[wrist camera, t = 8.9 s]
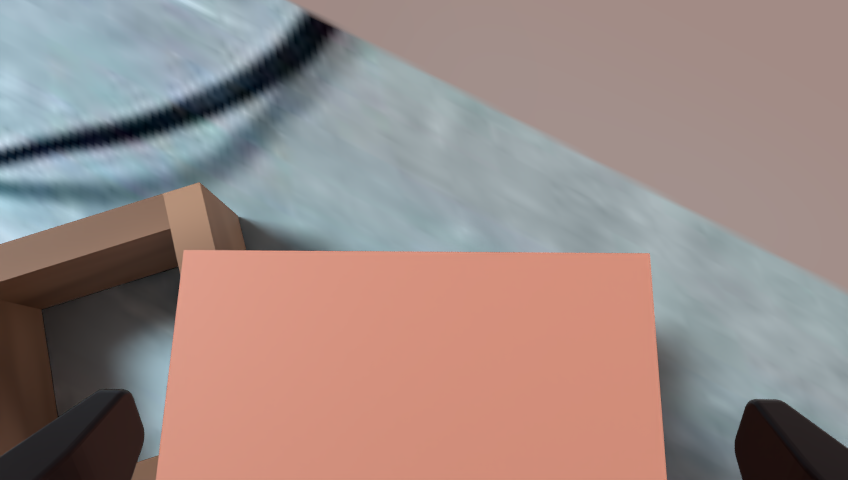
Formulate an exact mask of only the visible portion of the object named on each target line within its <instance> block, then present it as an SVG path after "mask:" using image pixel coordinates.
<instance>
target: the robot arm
mask: <svg viewBox="0 0 848 480" xmlns="http://www.w3.org/2000/svg"><path fill="white" fill-rule="evenodd" d="M143 442H144V428H143V424H142V421H141V419H140V416H139V413H138V410H137V407H136V404H135V401H134V398H133V396H132V394H131V393H130V392H129V391H128V390H124V389H103V390H99V391H97V392H95V393H94V394H92V395H91V396H89V397H88V398H86V399H85V400H83V401H82V402H80V403H79V404H77V405H76V406H74V407H73V408H71V409H70V410H68V411H67V412H65V413H64V414H62V415H61V416H60V417H58V418H57V419H55V420H54V421H52V422H51V423H49V424H48V425H46V426H45V427H43V428H42V429H40V430H39V431H37V432H36V433H34V434H33V435H31V436H30V437H28V438H27V439H25V440H24V441H22V442H21V443H19V444H18V445H16V446H15V447H13V448H12V449H11V450H9V451H8V452H6V453H5V454H3V455H2V456H0V480H131V479H132V476H133V473H134V470H135V467H136V464H137V461H138V458H139V455H140V452H141V449H142V446H143ZM735 455H736V459H737V462H738V466H739V469H740V473H741V476H742V479H743V480H848V448H847V447H845V446H844V445H842V444H841V443H840V442H838V441H837V440H836V439H834V438H833V437H832V436H830V435H829V434H827V433H826V432H825V431H823V430H822V429H821V428H819V427H818V426H816V425H815V424H814V423H812V422H811V421H810V420H808V419H807V418H805V417H804V416H803V415H801V414H800V413H799V412H797V411H796V410H795V409H793V408H792V407H790V406H789V405H788V404H786V403H785V402H783V401H781V400H776V399H753V400H750V401H749V402H748V403H747V405H746V407H745V410H744V413H743V416H742V419H741V422H740V425H739V429H738V432H737V435H736V438H735Z"/></svg>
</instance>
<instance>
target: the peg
mask: <svg viewBox="0 0 848 480" xmlns="http://www.w3.org/2000/svg"><path fill="white" fill-rule="evenodd" d="M156 480H667V474H666V461H665V448H664V435H663V422H662V409H661V396H660V383H659V369H658V356H657V343H656V330H655V317H654V304H653V291H652V278H651V264H650V253H522V252H387V251H252V250H184V252H183V260H182V268H181V277H180V285H179V293H178V301H177V310H176V318H175V326H174V334H173V343H172V351H171V359H170V367H169V375H168V384H167V392H166V400H165V408H164V417H163V425H162V433H161V441H160V449H159V458H158V466H157V474H156Z"/></svg>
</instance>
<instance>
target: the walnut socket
mask: <svg viewBox="0 0 848 480" xmlns="http://www.w3.org/2000/svg"><path fill="white" fill-rule="evenodd" d="M184 250H246V247H245V243H244V239H243V235H242V231H241V227H240V223H239V219H238V216H237V215H236V214H235V213H234V212H233V211H232V210H231V209H229V208H228V207H227V206H226V205H225V204H224V203H223V202H221V201H220V200H219V199H218V198H217V197H216V196H215V195H213V194H212V193H211V192H210V191H209V190H208V189H207V188H205V187H204V186H203V185H202V184H201V183H200V182H199V183H196V184H193V185H189V186H186V187H183V188H180V189H177V190H173V191H170V192H167V193H164V194H160V195H157V196H154V197H151V198H148V199H144V200H141V201H138V202H135V203H131V204H128V205H125V206H122V207H119V208H115V209H112V210H109V211H106V212H102V213H99V214H96V215H93V216H90V217H86V218H83V219H80V220H77V221H74V222H70V223H67V224H64V225H61V226H57V227H54V228H51V229H48V230H45V231H41V232H38V233H35V234H32V235H28V236H25V237H22V238H19V239H16V240H12V241H9V242H6V243H3V244H0V456H2V455H3V454H5V453H6V452H8V451H9V450H11V449H12V448H13V447H15V446H16V445H18V444H19V443H21V442H22V441H24V440H25V439H27V438H28V437H30V436H31V435H33V434H34V433H36V432H37V431H39V430H40V429H42V428H43V427H45V426H46V425H48V424H49V423H51V422H52V421H54V420H55V419H57V418H58V416H57V409H56V402H55V396H54V389H53V382H52V376H51V369H50V362H49V356H48V349H47V342H46V336H45V329H44V322H43V316H42V309H45V308H48V307H51V306H55V305H58V304H61V303H64V302H67V301H70V300H74V299H77V298H80V297H83V296H86V295H90V294H93V293H96V292H99V291H102V290H105V289H109V288H112V287H115V286H118V285H121V284H124V283H128V282H131V281H134V280H137V279H140V278H143V277H147V276H150V275H153V274H156V273H159V272H162V271H166V270H169V269H172V268H175V267H178V266H179V271H180V276H181V268H182V260H183V252H184ZM158 458H159V455H158V456H155V457H152V458H149V459H146V460H143V461H140V462H137V464H136V467H135V470H134V473H133V476H132V479H131V480H156V474H157V466H158Z"/></svg>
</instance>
